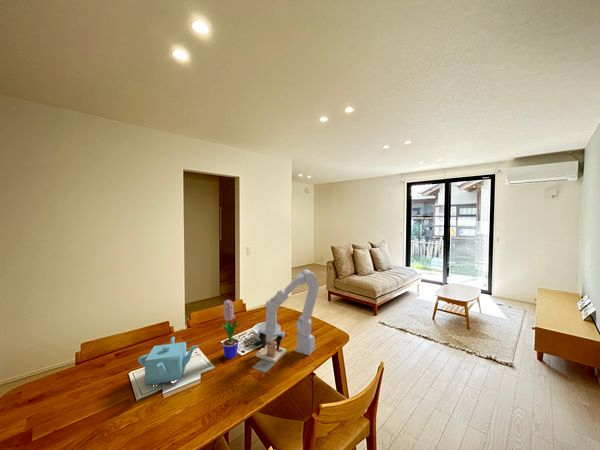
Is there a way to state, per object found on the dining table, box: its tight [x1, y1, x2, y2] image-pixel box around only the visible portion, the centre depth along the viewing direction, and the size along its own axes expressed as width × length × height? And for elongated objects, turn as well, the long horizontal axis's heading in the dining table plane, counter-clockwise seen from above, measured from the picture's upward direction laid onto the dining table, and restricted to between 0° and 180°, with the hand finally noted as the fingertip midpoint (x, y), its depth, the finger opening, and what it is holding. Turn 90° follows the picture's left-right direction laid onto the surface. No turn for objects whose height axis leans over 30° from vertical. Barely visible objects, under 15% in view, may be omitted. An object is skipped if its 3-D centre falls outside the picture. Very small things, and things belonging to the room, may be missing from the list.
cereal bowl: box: [252, 321, 281, 343], centre depth 142 cm, size 17×17×7 cm
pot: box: [266, 340, 277, 357], centre depth 125 cm, size 5×5×6 cm
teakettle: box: [137, 336, 199, 387], centre depth 107 cm, size 19×19×15 cm
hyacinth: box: [221, 299, 242, 359], centre depth 124 cm, size 9×10×30 cm
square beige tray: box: [255, 345, 287, 364], centre depth 125 cm, size 12×11×2 cm
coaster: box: [252, 358, 276, 374], centre depth 115 cm, size 8×8×1 cm
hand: (271, 348), depth 125 cm, fingers open, 7 cm apart
